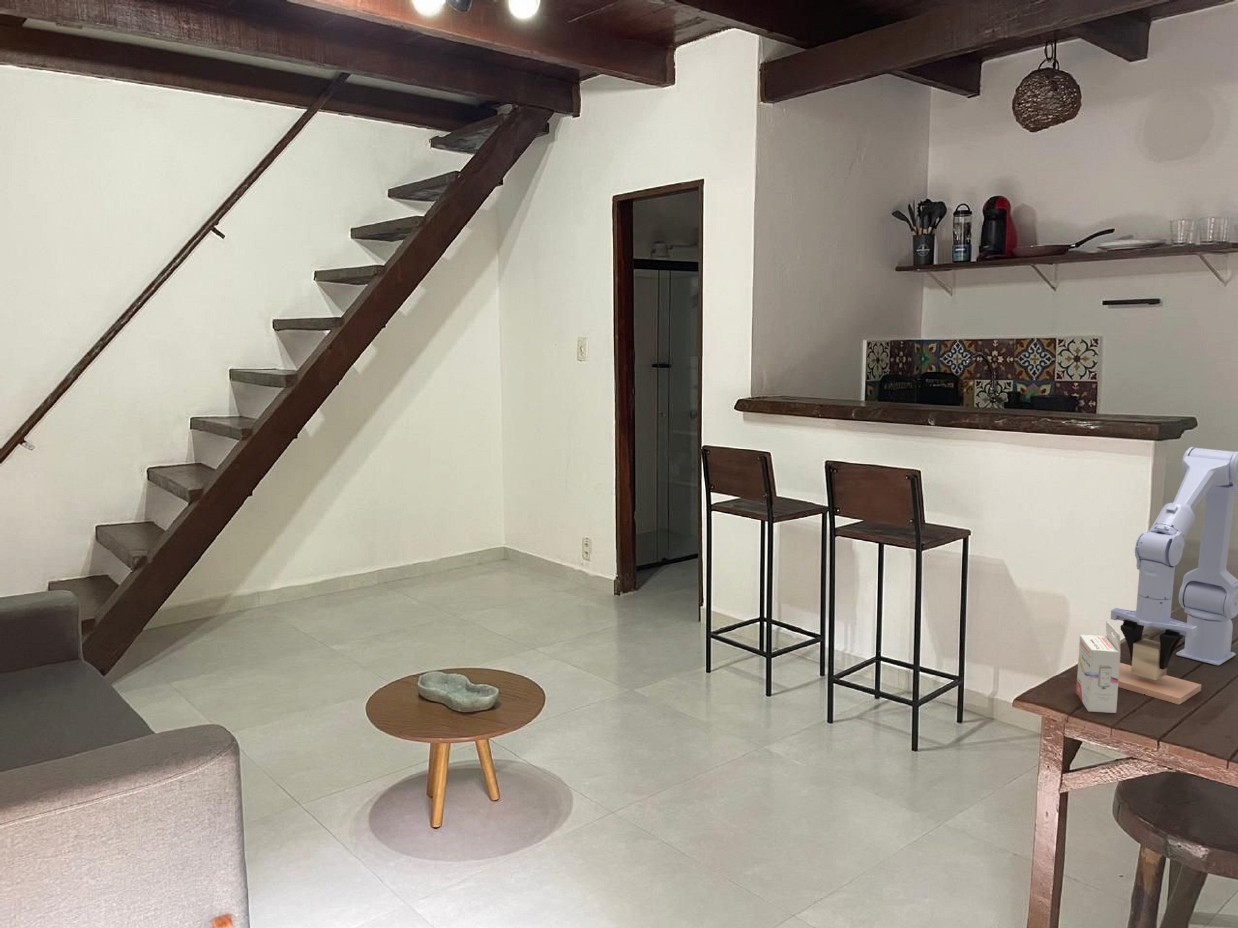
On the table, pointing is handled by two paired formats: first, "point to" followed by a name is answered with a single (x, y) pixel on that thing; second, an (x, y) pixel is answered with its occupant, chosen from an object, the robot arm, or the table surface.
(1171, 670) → the table surface
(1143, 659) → the maple block
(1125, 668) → the terracotta tile
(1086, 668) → the ink cartridge box
